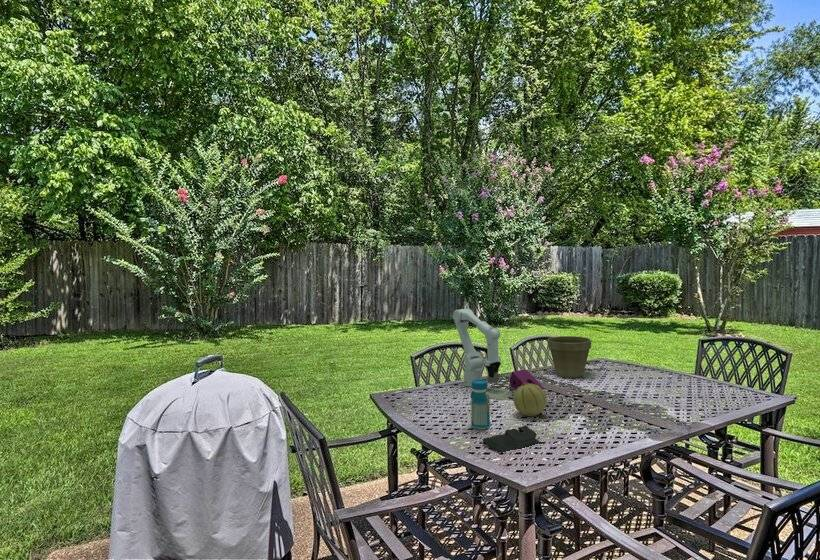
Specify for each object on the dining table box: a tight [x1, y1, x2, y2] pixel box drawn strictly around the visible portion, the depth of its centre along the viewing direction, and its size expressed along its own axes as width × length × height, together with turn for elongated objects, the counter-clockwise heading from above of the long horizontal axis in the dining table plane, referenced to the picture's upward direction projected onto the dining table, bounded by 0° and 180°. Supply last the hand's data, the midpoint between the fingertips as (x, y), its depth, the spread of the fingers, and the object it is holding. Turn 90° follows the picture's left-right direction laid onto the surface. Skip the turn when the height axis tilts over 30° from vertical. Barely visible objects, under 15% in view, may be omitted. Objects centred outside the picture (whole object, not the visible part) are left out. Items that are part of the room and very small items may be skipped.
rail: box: [470, 386, 511, 401], centre depth 258 cm, size 18×9×6 cm, turn 55°
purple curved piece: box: [509, 368, 544, 391], centre depth 266 cm, size 10×8×18 cm
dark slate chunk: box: [482, 424, 542, 454], centre depth 195 cm, size 15×22×5 cm
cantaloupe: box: [513, 383, 548, 417], centre depth 225 cm, size 15×15×15 cm
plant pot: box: [547, 335, 592, 379], centre depth 292 cm, size 25×25×22 cm
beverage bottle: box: [469, 378, 491, 430], centre depth 213 cm, size 8×8×20 cm
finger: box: [487, 371, 499, 384], centre depth 266 cm, size 5×4×5 cm
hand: (493, 376), depth 265 cm, fingers closed on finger, 4 cm apart
